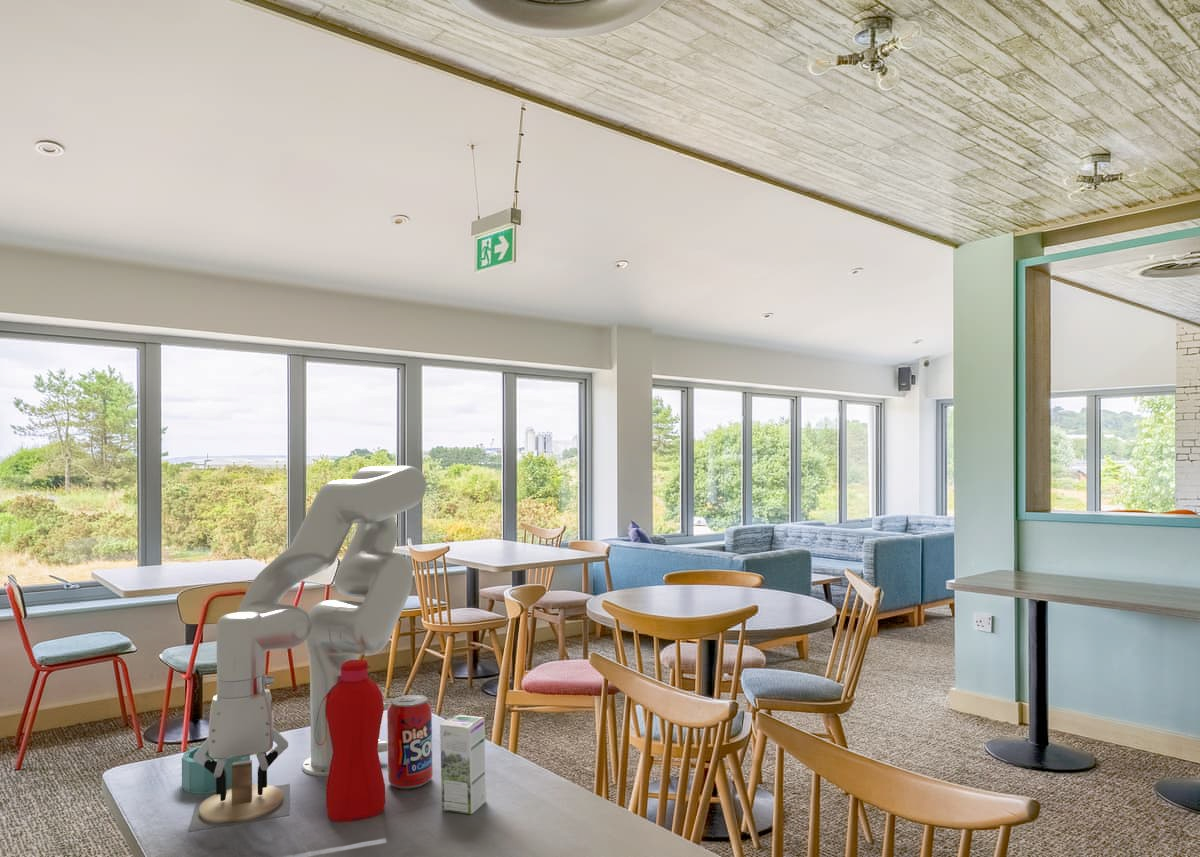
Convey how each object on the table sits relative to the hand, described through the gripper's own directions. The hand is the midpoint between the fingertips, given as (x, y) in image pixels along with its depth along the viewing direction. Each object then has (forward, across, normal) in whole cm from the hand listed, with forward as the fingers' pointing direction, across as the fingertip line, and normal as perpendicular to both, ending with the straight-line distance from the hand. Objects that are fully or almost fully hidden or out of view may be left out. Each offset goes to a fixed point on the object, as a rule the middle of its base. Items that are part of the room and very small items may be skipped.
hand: (242, 793), depth 138 cm
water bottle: (+3, -17, +9) cm, 19 cm away
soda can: (+3, -28, 0) cm, 28 cm away
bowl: (+3, +5, -14) cm, 15 cm away
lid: (+2, 0, 0) cm, 2 cm away
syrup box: (+3, -35, +14) cm, 38 cm away
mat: (+3, 0, 0) cm, 3 cm away
